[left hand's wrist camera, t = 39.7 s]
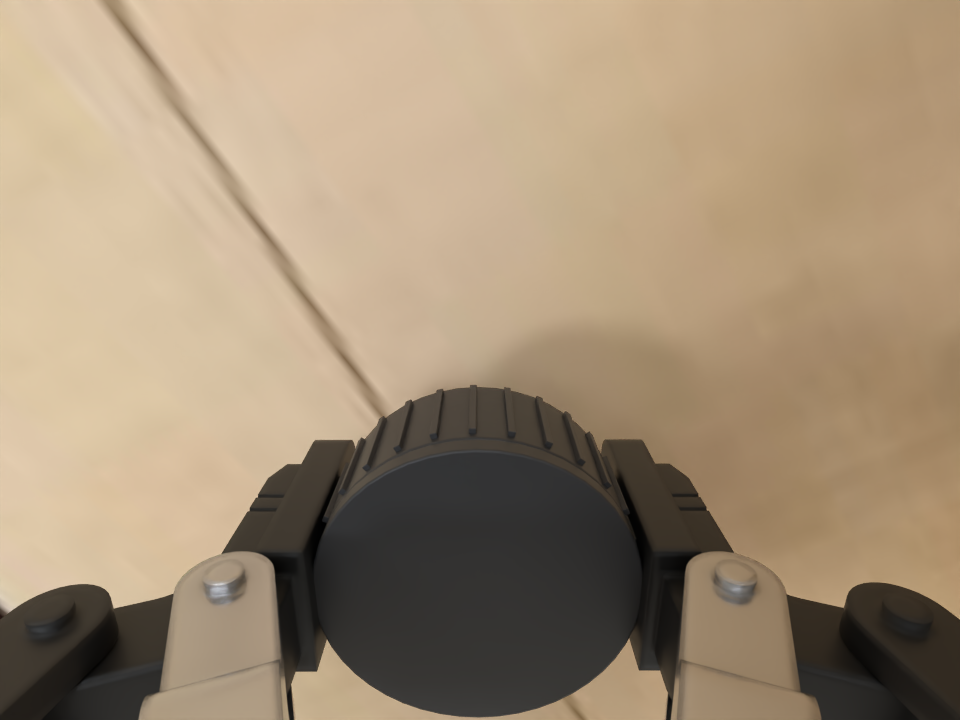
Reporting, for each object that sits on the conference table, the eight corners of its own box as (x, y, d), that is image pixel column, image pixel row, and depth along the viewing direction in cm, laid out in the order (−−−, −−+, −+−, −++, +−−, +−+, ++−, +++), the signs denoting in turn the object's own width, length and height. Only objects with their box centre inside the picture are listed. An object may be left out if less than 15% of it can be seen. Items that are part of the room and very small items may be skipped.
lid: (310, 402, 10) (266, 470, 8) (607, 364, 10) (640, 422, 8) (370, 632, 12) (347, 735, 10) (624, 603, 12) (655, 703, 10)
